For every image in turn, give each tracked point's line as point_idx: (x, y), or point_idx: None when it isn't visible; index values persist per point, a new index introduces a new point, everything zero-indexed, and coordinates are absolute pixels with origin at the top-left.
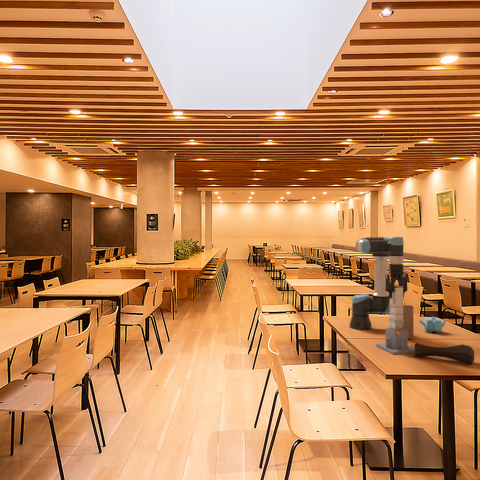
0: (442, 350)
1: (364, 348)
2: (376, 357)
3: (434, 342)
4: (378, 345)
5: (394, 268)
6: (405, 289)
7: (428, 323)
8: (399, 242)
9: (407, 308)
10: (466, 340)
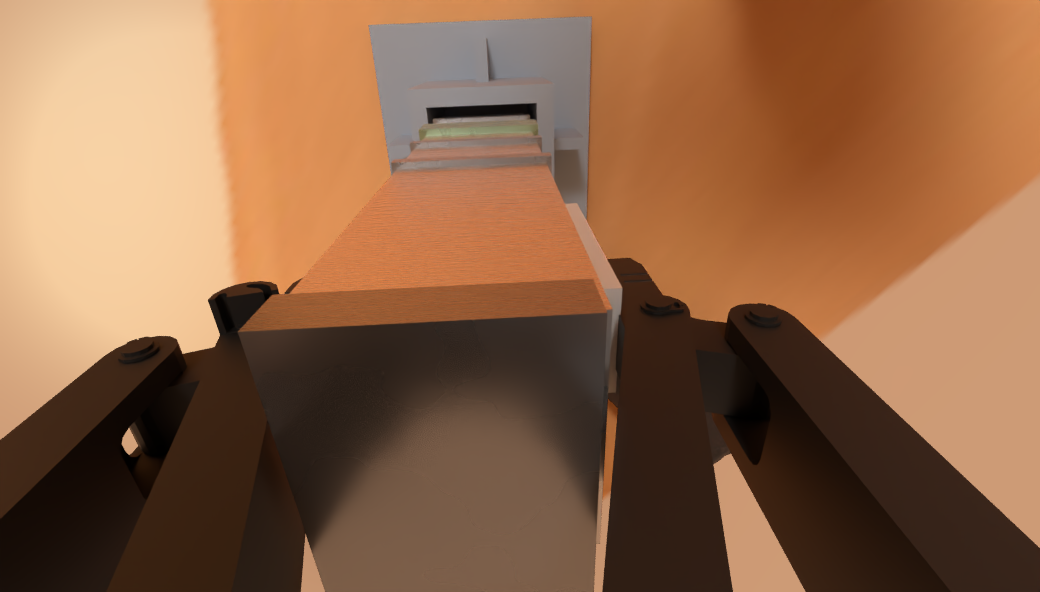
0: (614, 399)
1: (259, 64)
2: (278, 262)
3: (890, 21)
4: (375, 63)
5: None
6: (720, 433)
7: None
8: None
9: None
10: None
